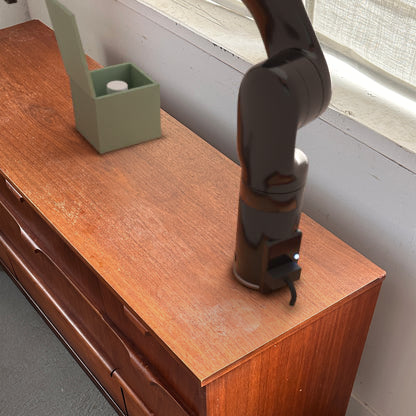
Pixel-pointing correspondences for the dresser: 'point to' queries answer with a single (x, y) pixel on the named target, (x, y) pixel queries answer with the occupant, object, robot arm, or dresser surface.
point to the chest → (118, 108)
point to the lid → (70, 45)
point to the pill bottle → (116, 87)
